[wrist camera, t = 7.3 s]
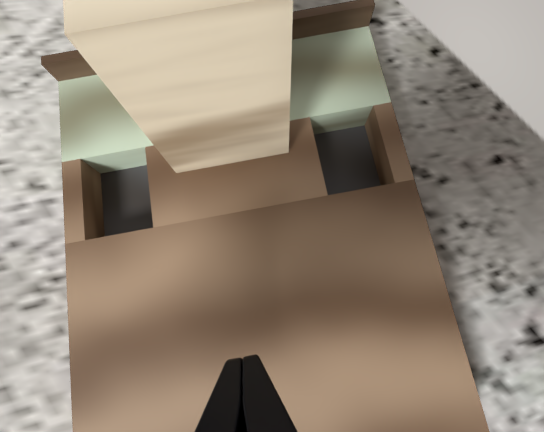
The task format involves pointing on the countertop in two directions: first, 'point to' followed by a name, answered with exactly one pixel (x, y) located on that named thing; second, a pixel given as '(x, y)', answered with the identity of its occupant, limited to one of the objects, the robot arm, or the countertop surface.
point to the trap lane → (259, 259)
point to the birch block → (194, 72)
